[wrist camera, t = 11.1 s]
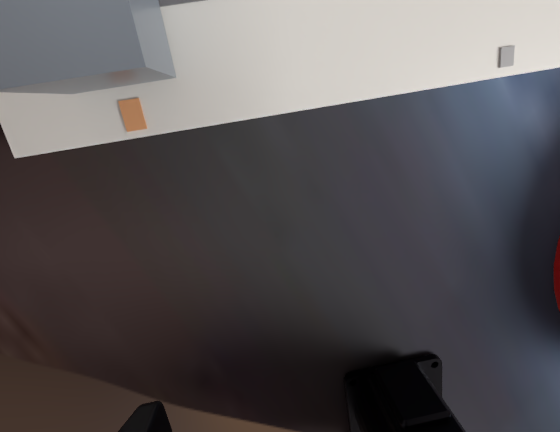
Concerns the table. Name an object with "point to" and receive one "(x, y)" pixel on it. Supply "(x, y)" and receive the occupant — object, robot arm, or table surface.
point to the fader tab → (81, 45)
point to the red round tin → (557, 274)
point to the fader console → (292, 64)
